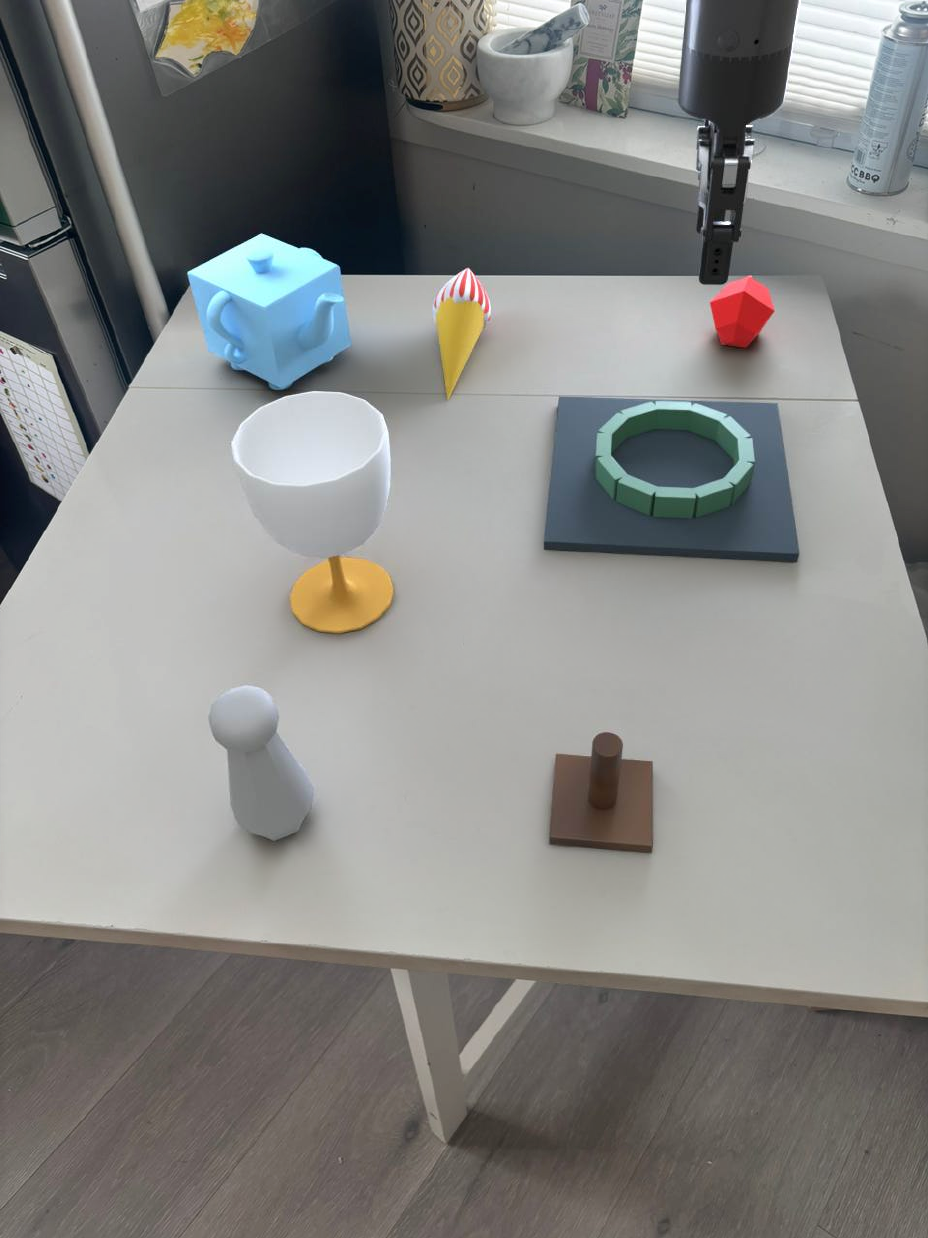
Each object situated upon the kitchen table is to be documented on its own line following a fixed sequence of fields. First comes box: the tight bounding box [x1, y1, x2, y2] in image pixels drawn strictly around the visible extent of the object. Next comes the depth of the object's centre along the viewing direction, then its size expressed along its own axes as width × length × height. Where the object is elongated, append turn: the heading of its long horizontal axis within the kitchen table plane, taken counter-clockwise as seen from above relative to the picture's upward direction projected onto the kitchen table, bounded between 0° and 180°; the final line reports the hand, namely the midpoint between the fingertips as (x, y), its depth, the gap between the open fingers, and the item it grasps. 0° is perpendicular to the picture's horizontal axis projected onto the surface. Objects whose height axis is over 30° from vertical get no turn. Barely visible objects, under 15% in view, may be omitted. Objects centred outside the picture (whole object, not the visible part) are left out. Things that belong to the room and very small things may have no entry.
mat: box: [543, 395, 800, 563], centre depth 94 cm, size 22×22×1 cm
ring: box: [595, 401, 755, 519], centre depth 93 cm, size 14×14×2 cm
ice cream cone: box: [432, 267, 492, 402], centre depth 109 cm, size 6×6×20 cm
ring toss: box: [548, 731, 654, 854], centre depth 68 cm, size 7×7×8 cm
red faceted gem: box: [709, 275, 775, 349], centre depth 108 cm, size 7×7×8 cm
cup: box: [230, 390, 395, 634], centre depth 80 cm, size 12×12×17 cm
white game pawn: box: [208, 685, 315, 842], centre depth 67 cm, size 6×6×13 cm
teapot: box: [186, 233, 352, 391], centre depth 105 cm, size 18×16×13 cm
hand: (710, 256), depth 80 cm, fingers open, 8 cm apart
